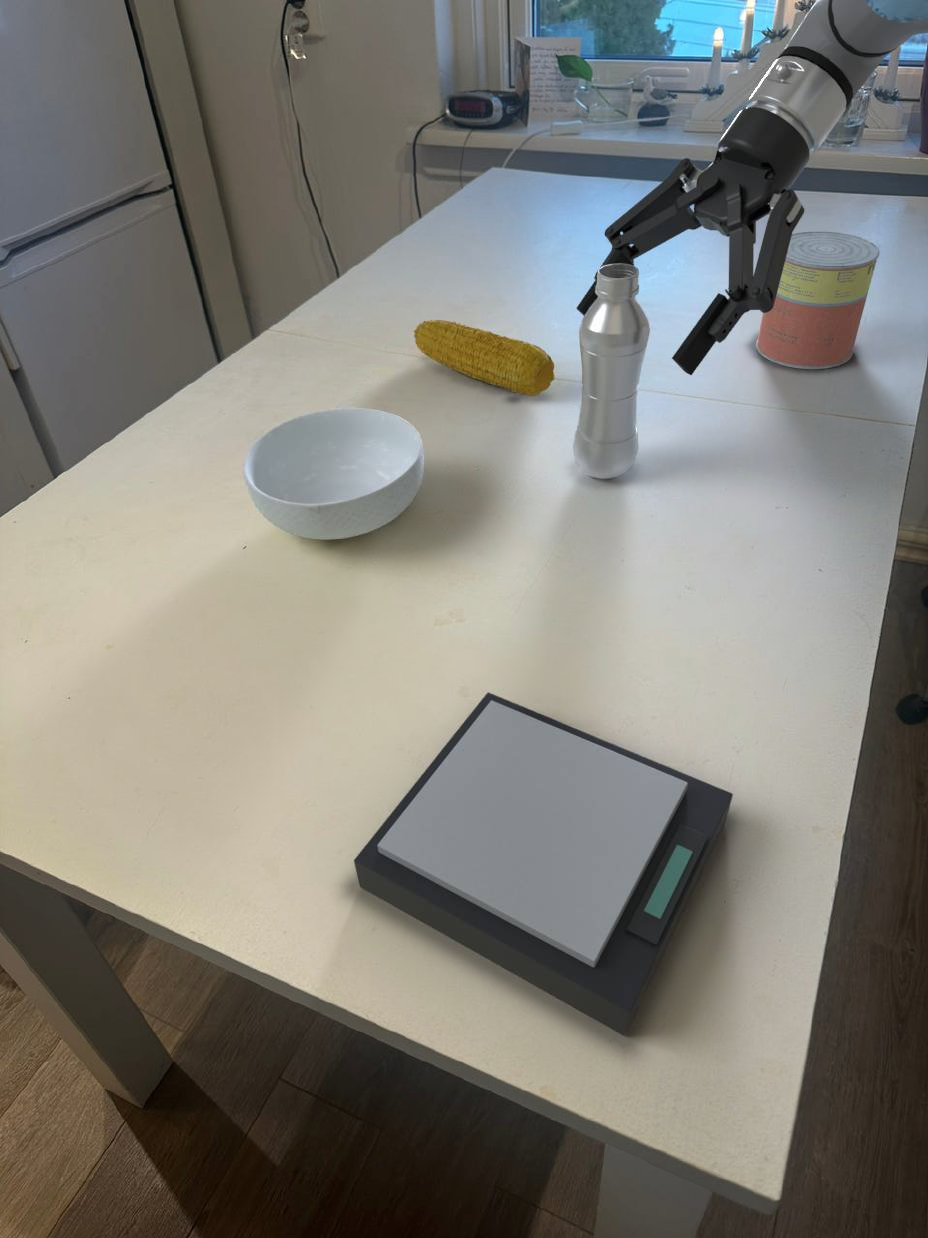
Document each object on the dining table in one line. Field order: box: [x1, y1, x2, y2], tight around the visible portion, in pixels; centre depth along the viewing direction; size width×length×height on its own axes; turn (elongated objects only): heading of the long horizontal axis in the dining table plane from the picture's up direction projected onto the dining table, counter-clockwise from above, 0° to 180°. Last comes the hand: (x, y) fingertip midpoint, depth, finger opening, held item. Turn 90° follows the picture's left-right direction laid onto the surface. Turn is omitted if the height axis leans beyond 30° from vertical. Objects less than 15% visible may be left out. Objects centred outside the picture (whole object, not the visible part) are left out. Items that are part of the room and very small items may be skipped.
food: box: [413, 319, 555, 396], centre depth 104 cm, size 21×6×6 cm, turn 48°
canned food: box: [755, 231, 880, 370], centre depth 103 cm, size 11×11×12 cm
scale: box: [353, 691, 734, 1037], centre depth 55 cm, size 18×16×4 cm
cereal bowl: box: [242, 407, 425, 541], centre depth 83 cm, size 17×17×7 cm
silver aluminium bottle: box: [572, 264, 651, 480], centre depth 82 cm, size 6×7×20 cm
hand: (630, 340), depth 81 cm, fingers open, 13 cm apart
